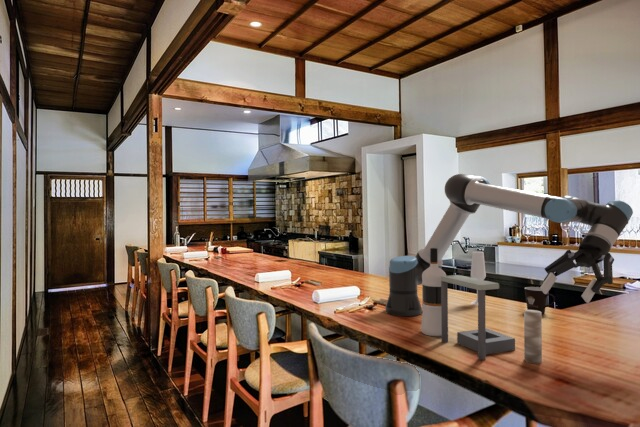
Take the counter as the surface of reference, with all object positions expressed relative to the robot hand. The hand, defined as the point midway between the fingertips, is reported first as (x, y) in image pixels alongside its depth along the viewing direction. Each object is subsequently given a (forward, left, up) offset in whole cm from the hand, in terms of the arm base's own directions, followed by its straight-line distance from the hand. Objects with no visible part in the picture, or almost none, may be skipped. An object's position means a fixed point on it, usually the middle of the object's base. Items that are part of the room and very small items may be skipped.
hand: (562, 295), depth 121 cm
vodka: (-38, +8, -18) cm, 43 cm away
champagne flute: (-27, +64, -18) cm, 72 cm away
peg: (-8, -8, -18) cm, 21 cm away
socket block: (-21, 0, -18) cm, 28 cm away
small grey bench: (-26, -4, -18) cm, 32 cm away
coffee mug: (-3, +54, -18) cm, 57 cm away
